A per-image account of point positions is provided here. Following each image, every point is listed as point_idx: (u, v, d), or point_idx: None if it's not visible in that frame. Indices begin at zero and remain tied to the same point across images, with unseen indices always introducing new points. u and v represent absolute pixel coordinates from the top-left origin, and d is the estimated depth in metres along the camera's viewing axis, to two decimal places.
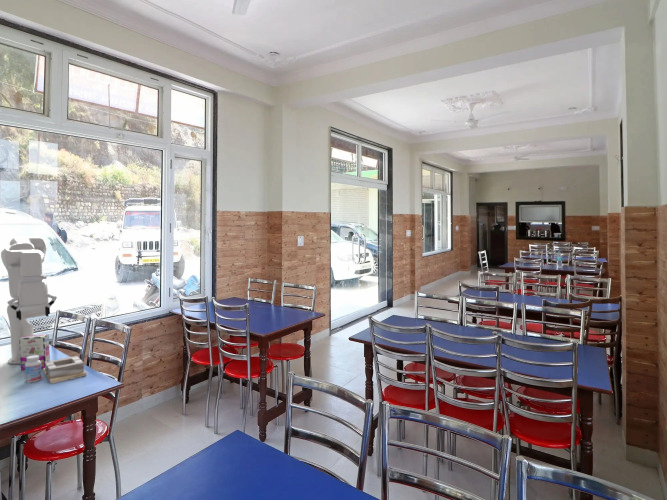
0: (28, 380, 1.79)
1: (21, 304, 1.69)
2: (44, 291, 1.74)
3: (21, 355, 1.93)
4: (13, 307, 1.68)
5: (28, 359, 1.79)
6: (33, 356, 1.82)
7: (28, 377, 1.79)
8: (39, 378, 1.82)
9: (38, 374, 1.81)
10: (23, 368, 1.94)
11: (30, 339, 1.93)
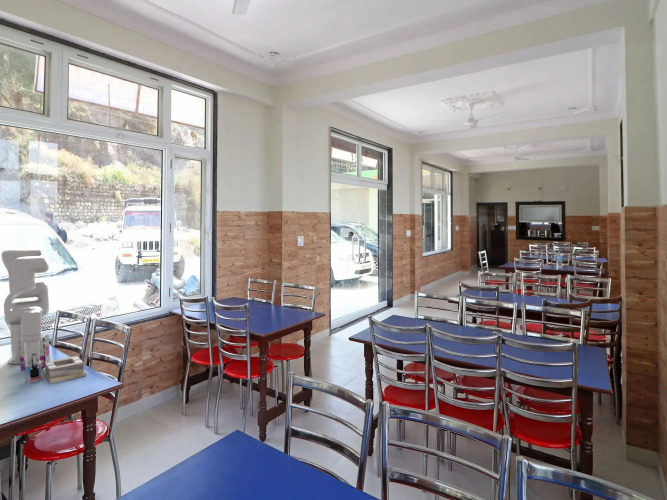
0: (28, 380, 1.79)
1: (39, 360, 1.80)
2: None
3: (21, 355, 1.93)
4: None
5: None
6: None
7: (28, 377, 1.79)
8: (39, 378, 1.82)
9: None
10: (23, 368, 1.94)
11: None
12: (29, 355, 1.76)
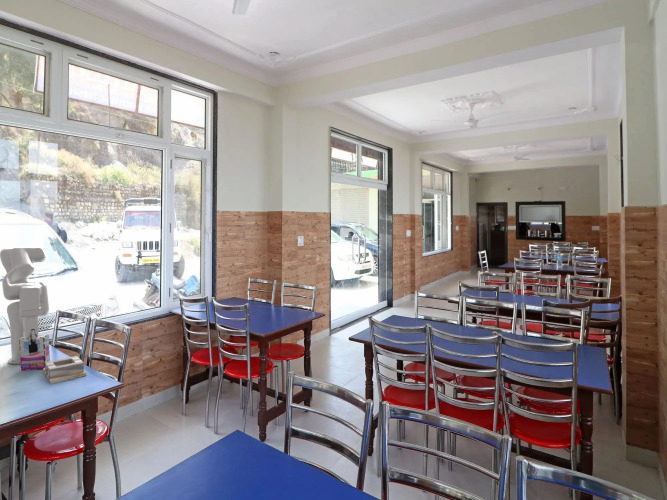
0: (27, 355, 1.79)
1: None
2: None
3: (21, 355, 1.93)
4: None
5: None
6: None
7: (27, 352, 1.79)
8: (38, 353, 1.81)
9: None
10: (23, 368, 1.94)
11: None
12: (28, 330, 1.76)
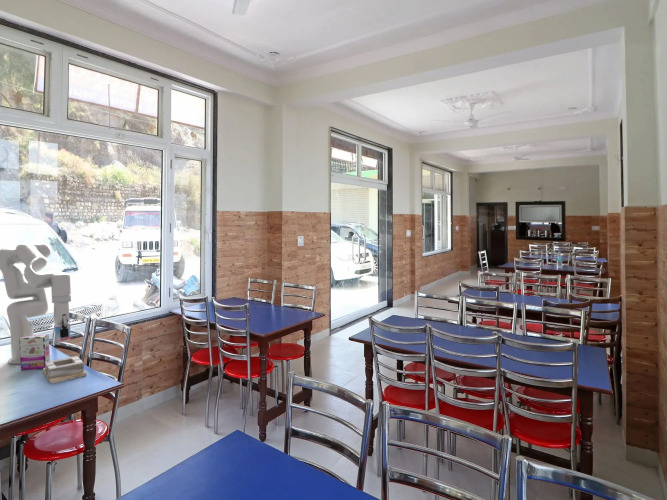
0: (58, 340, 1.86)
1: None
2: None
3: (21, 355, 1.93)
4: None
5: None
6: None
7: (58, 337, 1.86)
8: (68, 338, 1.89)
9: None
10: (23, 368, 1.94)
11: (30, 339, 1.93)
12: (59, 315, 1.84)
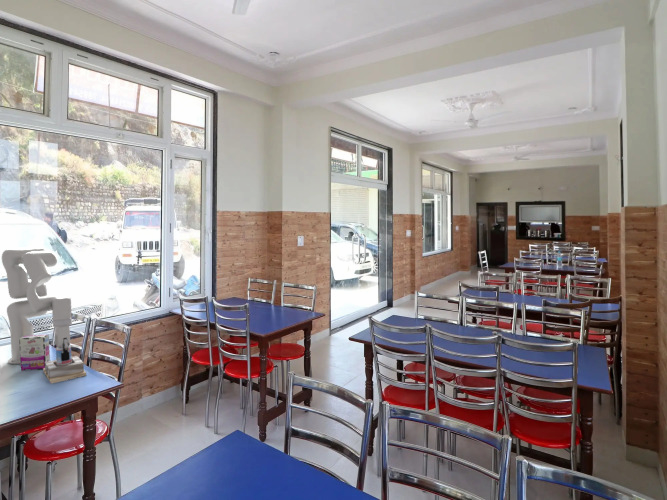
0: (59, 363, 1.87)
1: None
2: None
3: (21, 355, 1.93)
4: None
5: None
6: None
7: (59, 360, 1.87)
8: (69, 361, 1.90)
9: None
10: (23, 368, 1.94)
11: (30, 339, 1.93)
12: (60, 339, 1.84)
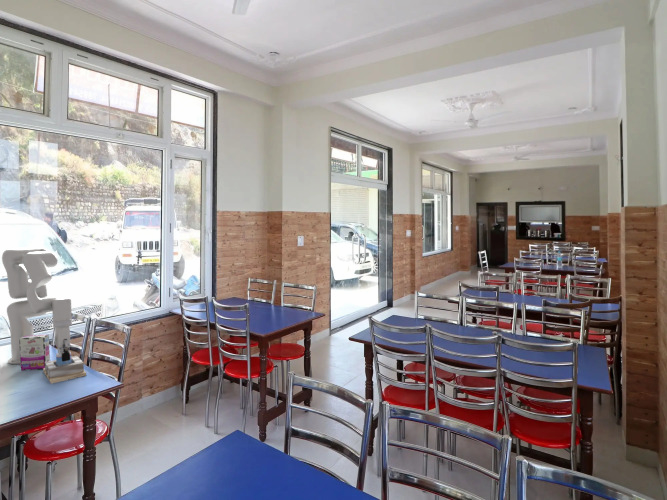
0: None
1: None
2: None
3: (21, 355, 1.93)
4: None
5: (59, 350, 1.88)
6: None
7: None
8: None
9: None
10: (23, 368, 1.94)
11: (30, 339, 1.93)
12: (61, 340, 1.84)
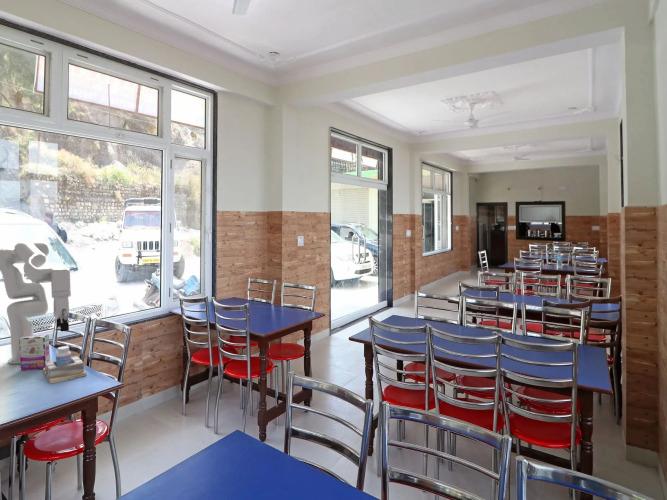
0: None
1: (68, 315, 1.87)
2: None
3: (21, 355, 1.93)
4: None
5: (59, 350, 1.88)
6: (63, 347, 1.90)
7: None
8: None
9: None
10: (23, 368, 1.94)
11: (30, 339, 1.93)
12: (59, 310, 1.83)
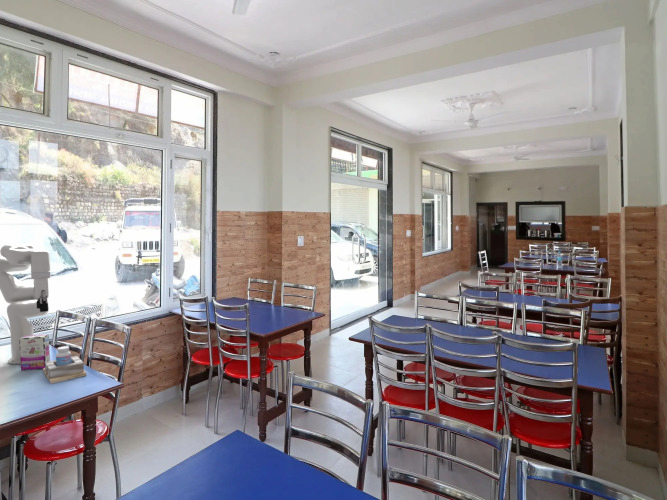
0: None
1: None
2: None
3: (21, 355, 1.93)
4: None
5: (59, 350, 1.87)
6: (63, 347, 1.90)
7: None
8: None
9: None
10: (23, 368, 1.94)
11: (30, 339, 1.93)
12: (38, 291, 1.87)
